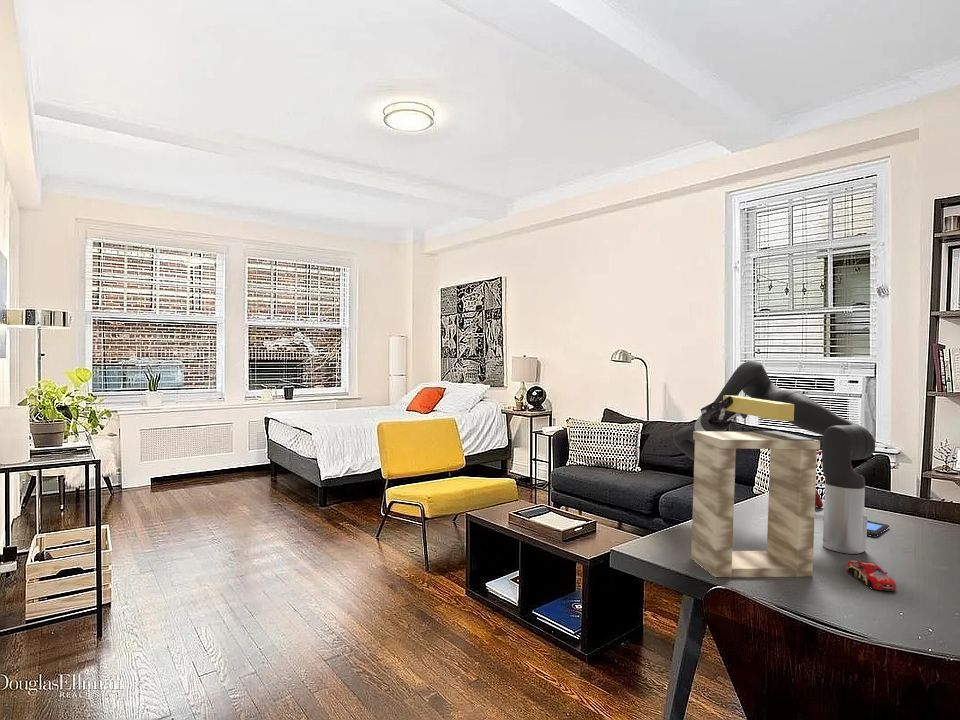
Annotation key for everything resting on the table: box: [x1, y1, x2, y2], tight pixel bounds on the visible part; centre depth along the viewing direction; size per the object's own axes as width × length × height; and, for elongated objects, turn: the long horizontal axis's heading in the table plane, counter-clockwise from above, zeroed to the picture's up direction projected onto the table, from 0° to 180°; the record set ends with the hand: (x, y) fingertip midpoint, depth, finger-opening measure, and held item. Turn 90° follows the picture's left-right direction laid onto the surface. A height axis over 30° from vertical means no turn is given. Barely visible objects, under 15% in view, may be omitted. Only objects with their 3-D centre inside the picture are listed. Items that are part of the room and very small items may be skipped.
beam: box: [723, 395, 794, 422], centre depth 156 cm, size 4×26×4 cm, turn 6°
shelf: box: [690, 430, 821, 578], centre depth 145 cm, size 24×14×32 cm, turn 96°
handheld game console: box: [867, 519, 890, 537], centre depth 182 cm, size 16×13×9 cm
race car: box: [846, 560, 897, 592], centre depth 138 cm, size 13×5×4 cm, turn 175°
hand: (739, 399), depth 164 cm, fingers closed on beam, 4 cm apart
